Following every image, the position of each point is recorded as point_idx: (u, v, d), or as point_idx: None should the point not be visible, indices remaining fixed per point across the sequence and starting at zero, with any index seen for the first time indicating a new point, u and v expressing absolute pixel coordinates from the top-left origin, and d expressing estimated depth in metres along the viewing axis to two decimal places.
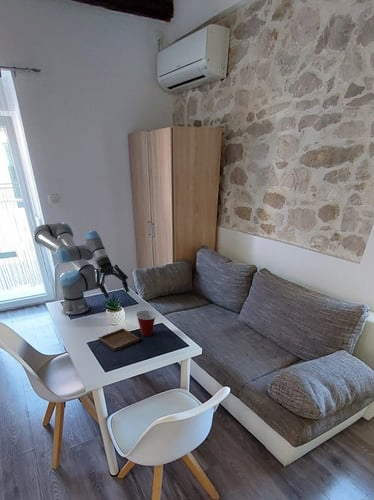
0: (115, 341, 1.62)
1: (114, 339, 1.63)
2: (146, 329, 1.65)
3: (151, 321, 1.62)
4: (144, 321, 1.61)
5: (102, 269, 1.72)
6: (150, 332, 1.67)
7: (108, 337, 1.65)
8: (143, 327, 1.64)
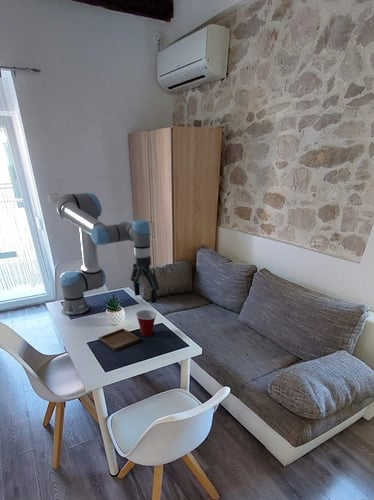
0: (115, 341, 1.62)
1: (114, 339, 1.63)
2: (146, 329, 1.65)
3: (151, 321, 1.62)
4: (144, 321, 1.61)
5: None
6: (150, 332, 1.67)
7: (108, 337, 1.65)
8: (143, 327, 1.64)
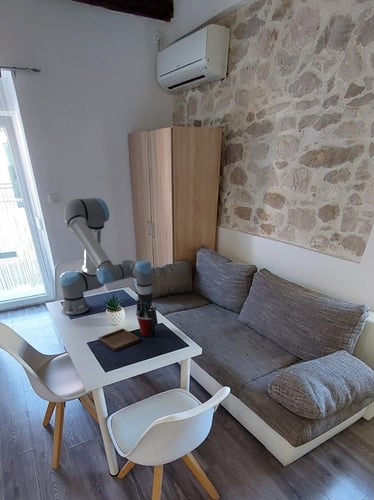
0: (115, 341, 1.62)
1: (114, 339, 1.63)
2: (146, 329, 1.65)
3: None
4: (144, 321, 1.61)
5: None
6: None
7: (108, 337, 1.65)
8: (143, 327, 1.64)
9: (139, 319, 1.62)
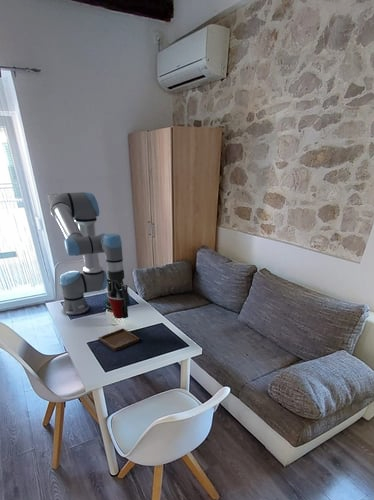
0: (115, 341, 1.62)
1: (114, 339, 1.63)
2: (118, 310, 1.52)
3: None
4: (115, 301, 1.48)
5: None
6: None
7: (108, 337, 1.65)
8: (114, 308, 1.51)
9: (110, 299, 1.49)
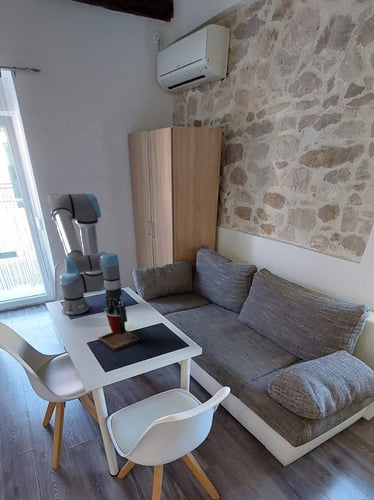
0: (115, 341, 1.62)
1: (114, 339, 1.63)
2: (115, 326, 1.55)
3: None
4: (113, 318, 1.52)
5: None
6: None
7: (108, 337, 1.65)
8: (112, 324, 1.55)
9: (108, 316, 1.52)
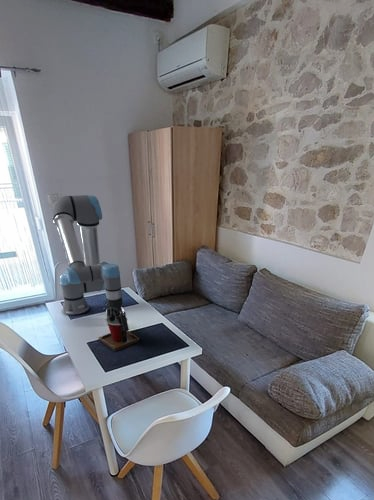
0: None
1: None
2: (116, 335, 1.58)
3: None
4: (114, 326, 1.54)
5: None
6: None
7: (108, 337, 1.65)
8: (113, 333, 1.57)
9: (109, 324, 1.55)
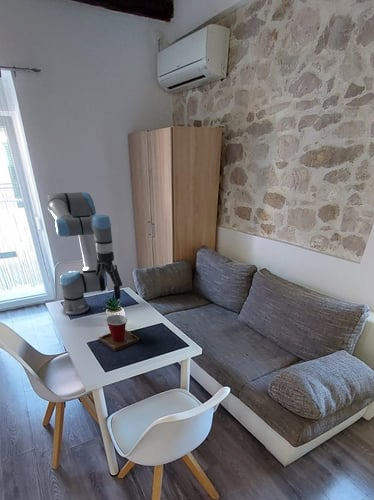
0: None
1: None
2: (116, 335, 1.58)
3: (121, 326, 1.56)
4: (114, 326, 1.54)
5: None
6: (121, 338, 1.60)
7: (108, 337, 1.65)
8: (113, 333, 1.57)
9: (109, 324, 1.55)
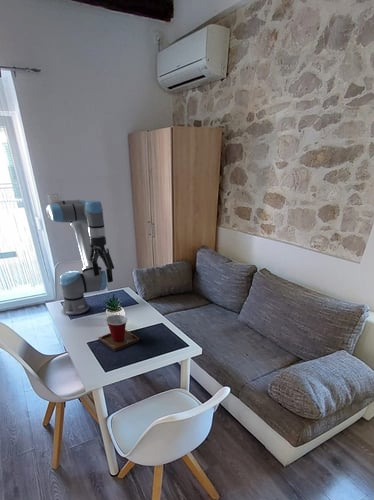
0: None
1: None
2: (116, 335, 1.58)
3: (121, 326, 1.56)
4: (114, 326, 1.54)
5: None
6: (121, 338, 1.60)
7: (108, 337, 1.65)
8: (113, 333, 1.57)
9: (109, 324, 1.55)
